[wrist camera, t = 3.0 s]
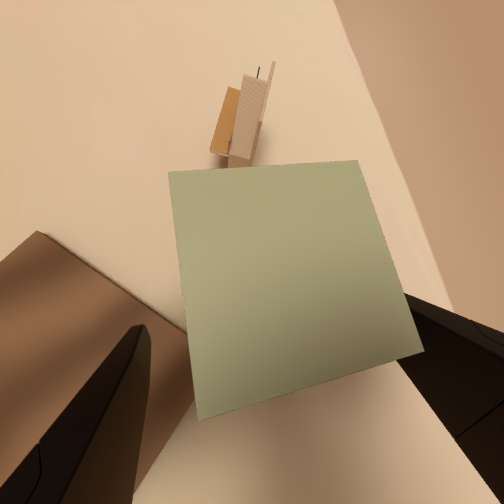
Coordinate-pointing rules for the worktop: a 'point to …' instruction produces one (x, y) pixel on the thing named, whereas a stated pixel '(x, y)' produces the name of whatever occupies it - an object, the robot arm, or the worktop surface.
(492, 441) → the robot arm
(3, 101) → the worktop surface
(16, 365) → the walnut board
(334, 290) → the sage block
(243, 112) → the architectural model
